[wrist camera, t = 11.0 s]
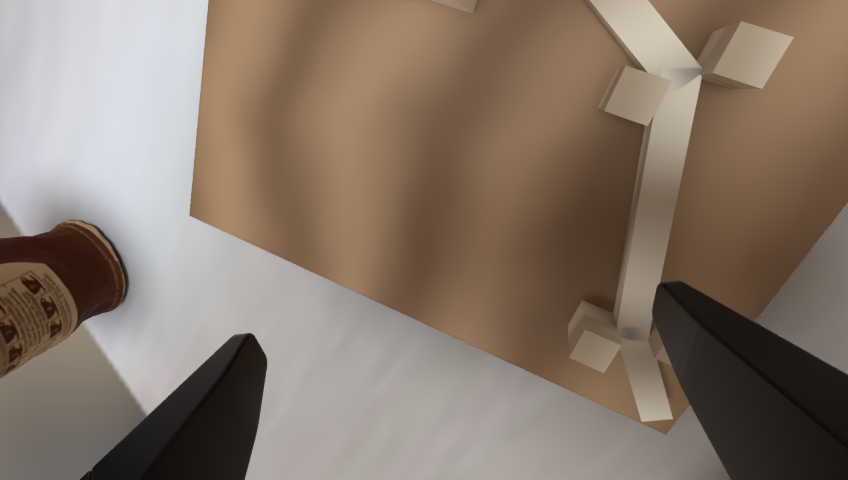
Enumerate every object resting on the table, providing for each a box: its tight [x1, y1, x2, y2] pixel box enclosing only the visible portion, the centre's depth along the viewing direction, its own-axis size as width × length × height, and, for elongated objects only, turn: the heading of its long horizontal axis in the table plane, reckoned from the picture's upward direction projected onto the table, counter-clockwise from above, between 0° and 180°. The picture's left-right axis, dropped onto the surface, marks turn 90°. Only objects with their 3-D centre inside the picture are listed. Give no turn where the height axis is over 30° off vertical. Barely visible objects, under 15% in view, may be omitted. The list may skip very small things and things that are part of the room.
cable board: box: [190, 0, 848, 434], centre depth 16 cm, size 26×22×4 cm
